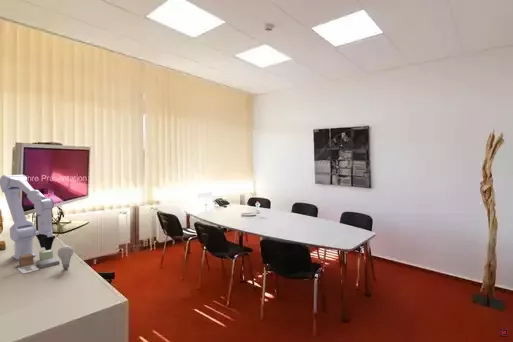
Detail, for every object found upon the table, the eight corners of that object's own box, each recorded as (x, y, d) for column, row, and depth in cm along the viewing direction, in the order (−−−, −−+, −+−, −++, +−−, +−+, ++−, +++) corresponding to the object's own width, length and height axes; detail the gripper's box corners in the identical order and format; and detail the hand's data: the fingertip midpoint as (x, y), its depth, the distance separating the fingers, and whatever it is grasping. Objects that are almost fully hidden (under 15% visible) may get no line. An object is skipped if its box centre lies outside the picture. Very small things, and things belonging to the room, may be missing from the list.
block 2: (39, 260, 144) (39, 251, 144) (49, 257, 148) (49, 249, 148) (42, 261, 141) (41, 253, 141) (52, 259, 145) (52, 250, 145)
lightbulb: (66, 271, 128) (65, 248, 128) (54, 271, 129) (54, 247, 129) (77, 266, 134) (76, 244, 134) (66, 266, 135) (65, 243, 135)
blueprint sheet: (16, 268, 132) (16, 268, 132) (32, 264, 137) (32, 264, 137) (22, 273, 126) (22, 273, 126) (39, 269, 131) (39, 269, 131)
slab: (37, 264, 137) (37, 261, 137) (54, 260, 143) (54, 257, 143) (42, 268, 133) (42, 264, 133) (59, 263, 138) (59, 260, 138)
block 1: (19, 264, 138) (19, 255, 138) (30, 262, 141) (30, 253, 141) (22, 266, 135) (21, 257, 135) (33, 263, 139) (33, 254, 138)
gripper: (31, 222, 145) (32, 248, 146) (39, 225, 136) (40, 253, 137) (47, 219, 151) (48, 244, 151) (56, 223, 142) (57, 249, 142)
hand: (45, 248), depth 144 cm, fingers open, 7 cm apart
